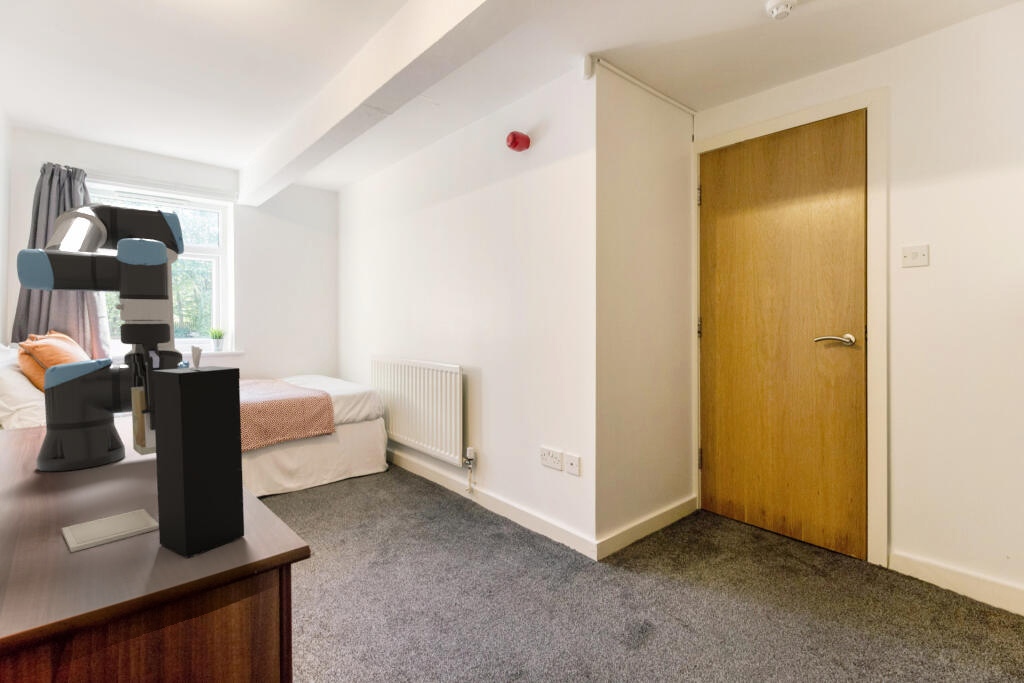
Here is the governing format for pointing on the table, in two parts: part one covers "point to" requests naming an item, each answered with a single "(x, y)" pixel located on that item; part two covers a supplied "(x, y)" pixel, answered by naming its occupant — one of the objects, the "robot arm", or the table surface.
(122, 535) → the coaster
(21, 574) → the table surface
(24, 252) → the robot arm
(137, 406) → the skincare box
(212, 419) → the tissue box
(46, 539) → the table surface
